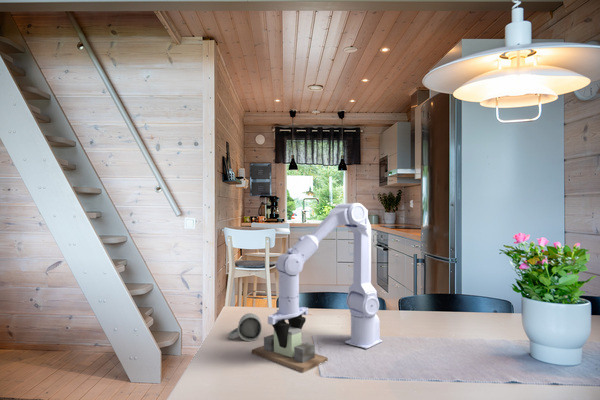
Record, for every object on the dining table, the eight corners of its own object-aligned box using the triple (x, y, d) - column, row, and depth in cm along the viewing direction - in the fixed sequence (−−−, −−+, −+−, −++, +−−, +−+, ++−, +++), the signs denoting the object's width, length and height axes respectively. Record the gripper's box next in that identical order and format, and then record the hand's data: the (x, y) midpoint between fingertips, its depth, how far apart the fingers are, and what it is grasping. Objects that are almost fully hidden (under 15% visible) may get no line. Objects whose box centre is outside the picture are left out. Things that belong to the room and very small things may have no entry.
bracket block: (283, 348, 113) (283, 324, 113) (301, 353, 108) (301, 329, 109) (273, 351, 110) (273, 327, 110) (291, 357, 105) (291, 332, 106)
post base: (276, 344, 119) (276, 329, 119) (327, 361, 106) (327, 344, 106) (251, 353, 112) (251, 337, 112) (303, 372, 98) (303, 354, 99)
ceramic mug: (260, 332, 131) (260, 310, 131) (262, 340, 123) (261, 316, 123) (228, 335, 129) (228, 311, 129) (228, 343, 121) (227, 318, 121)
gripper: (295, 290, 118) (295, 335, 117) (260, 298, 107) (259, 348, 106) (313, 293, 113) (313, 340, 112) (278, 302, 102) (277, 354, 102)
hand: (288, 344), depth 109 cm, fingers open, 4 cm apart
